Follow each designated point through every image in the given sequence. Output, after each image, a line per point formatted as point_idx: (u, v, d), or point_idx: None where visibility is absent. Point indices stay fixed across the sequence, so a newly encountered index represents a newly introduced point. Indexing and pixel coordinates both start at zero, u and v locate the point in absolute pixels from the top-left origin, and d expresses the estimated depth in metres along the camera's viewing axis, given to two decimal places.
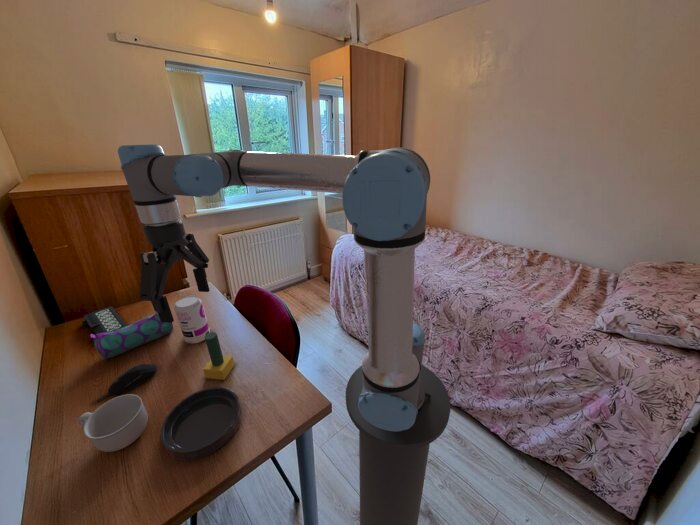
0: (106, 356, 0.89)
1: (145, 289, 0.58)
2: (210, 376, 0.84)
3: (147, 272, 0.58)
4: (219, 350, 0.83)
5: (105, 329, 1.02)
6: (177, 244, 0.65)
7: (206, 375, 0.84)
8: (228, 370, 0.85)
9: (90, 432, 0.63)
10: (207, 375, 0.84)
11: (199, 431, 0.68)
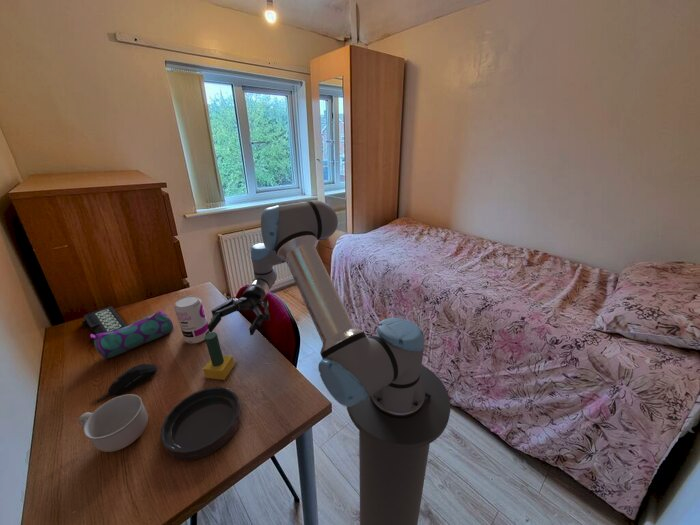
0: (106, 356, 0.89)
1: None
2: (210, 376, 0.84)
3: None
4: (219, 350, 0.83)
5: (105, 329, 1.02)
6: None
7: (206, 375, 0.84)
8: (228, 370, 0.85)
9: (90, 432, 0.63)
10: (207, 375, 0.84)
11: (199, 431, 0.68)
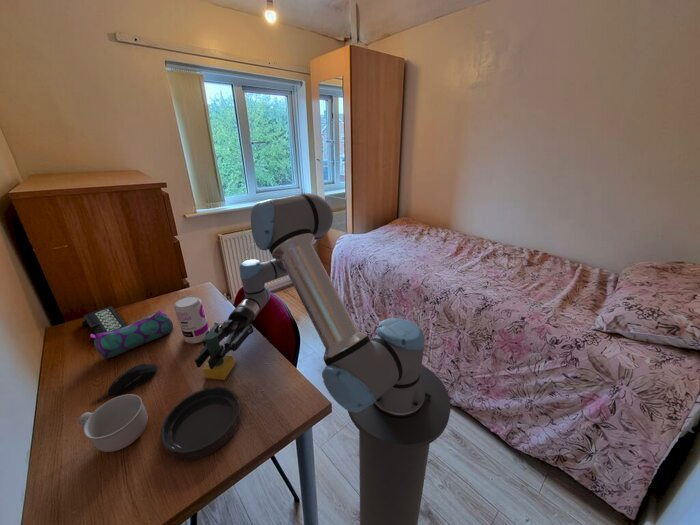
0: (106, 356, 0.89)
1: None
2: (210, 376, 0.84)
3: None
4: None
5: (105, 329, 1.02)
6: (240, 320, 0.94)
7: (206, 375, 0.84)
8: (228, 370, 0.85)
9: (90, 432, 0.63)
10: (207, 375, 0.84)
11: (199, 431, 0.68)
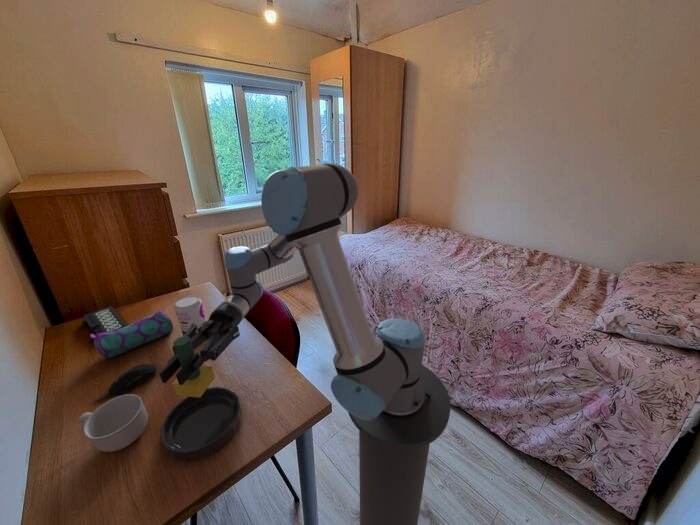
0: (106, 356, 0.89)
1: None
2: (182, 393, 0.65)
3: None
4: None
5: (105, 329, 1.02)
6: (224, 320, 0.76)
7: (177, 391, 0.65)
8: (206, 385, 0.66)
9: (90, 432, 0.63)
10: (178, 391, 0.65)
11: (199, 431, 0.68)
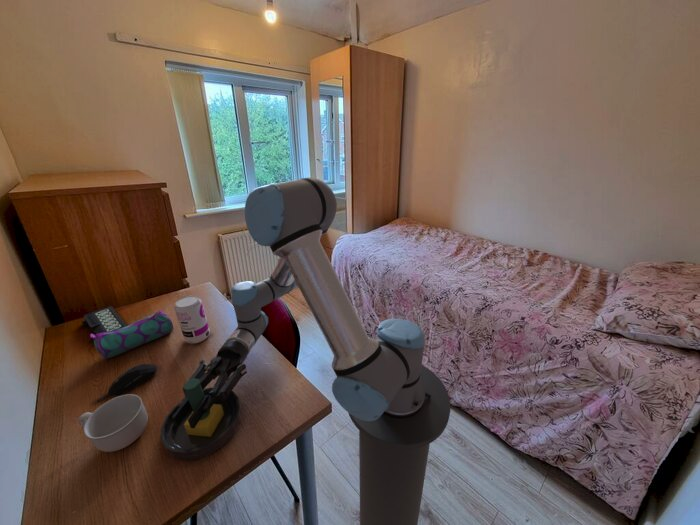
0: (106, 356, 0.89)
1: None
2: (193, 433, 0.67)
3: None
4: None
5: (105, 329, 1.02)
6: (232, 357, 0.78)
7: (188, 431, 0.67)
8: (216, 423, 0.69)
9: (90, 432, 0.63)
10: (189, 431, 0.67)
11: None
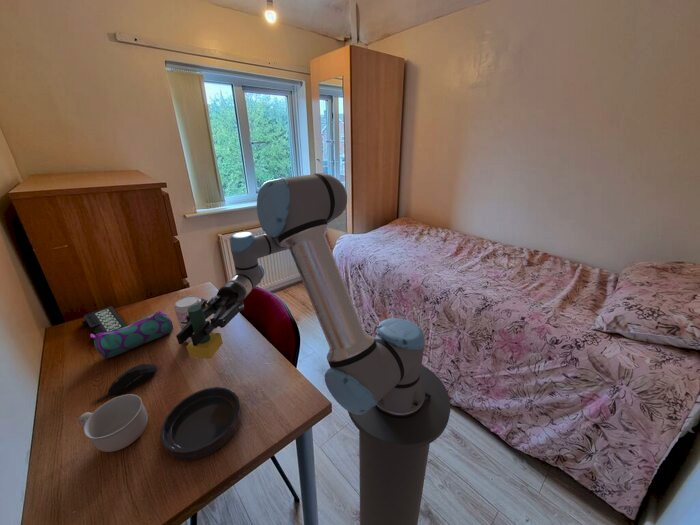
0: (106, 356, 0.89)
1: None
2: (195, 355, 0.74)
3: None
4: None
5: (105, 329, 1.02)
6: (230, 296, 0.85)
7: (190, 354, 0.75)
8: (215, 348, 0.76)
9: (90, 432, 0.63)
10: (191, 353, 0.74)
11: (199, 431, 0.68)
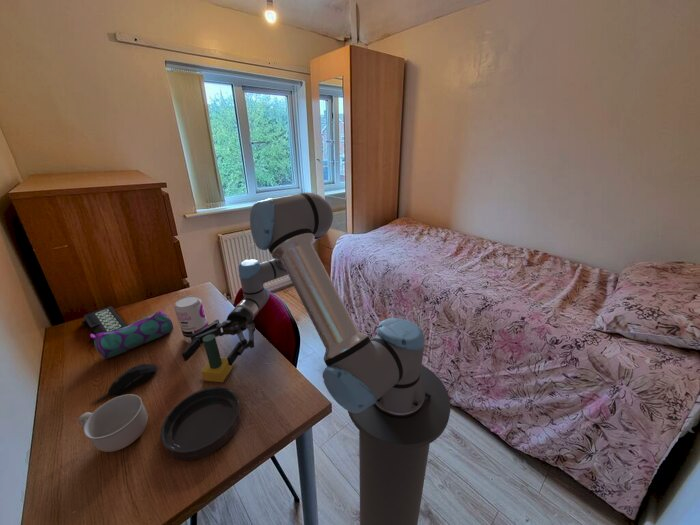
0: (106, 356, 0.89)
1: None
2: (208, 379, 0.83)
3: None
4: (217, 352, 0.82)
5: (105, 329, 1.02)
6: None
7: (204, 378, 0.83)
8: (226, 372, 0.84)
9: (90, 432, 0.63)
10: (205, 377, 0.83)
11: (199, 431, 0.68)
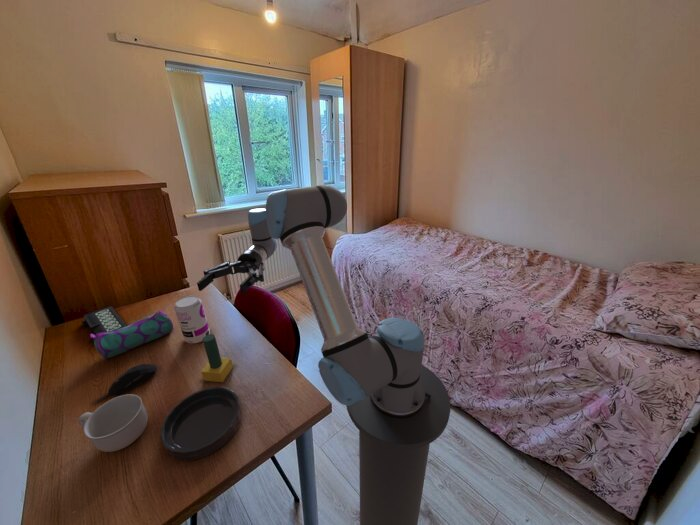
0: (106, 356, 0.89)
1: None
2: (208, 379, 0.83)
3: None
4: (217, 352, 0.82)
5: (105, 329, 1.02)
6: None
7: (204, 378, 0.83)
8: (226, 372, 0.84)
9: (90, 432, 0.63)
10: (205, 377, 0.83)
11: (199, 431, 0.68)
